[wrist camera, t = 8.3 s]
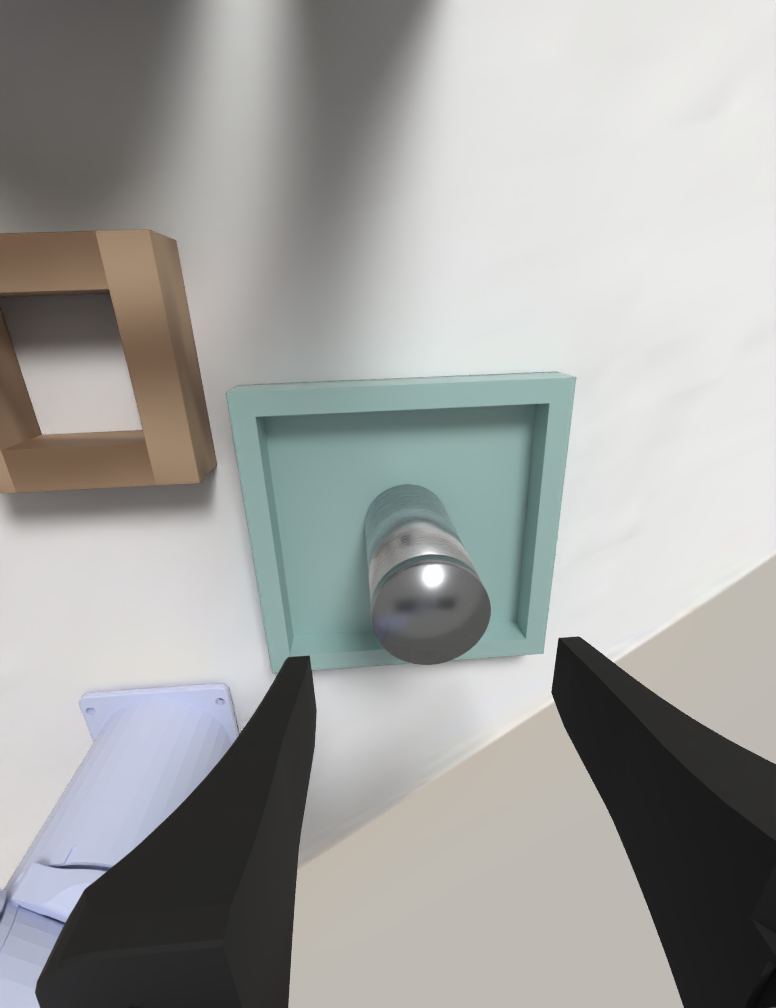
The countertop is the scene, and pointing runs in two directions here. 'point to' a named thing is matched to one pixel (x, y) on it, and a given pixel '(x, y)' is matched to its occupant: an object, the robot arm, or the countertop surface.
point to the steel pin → (421, 579)
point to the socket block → (149, 355)
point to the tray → (391, 462)
